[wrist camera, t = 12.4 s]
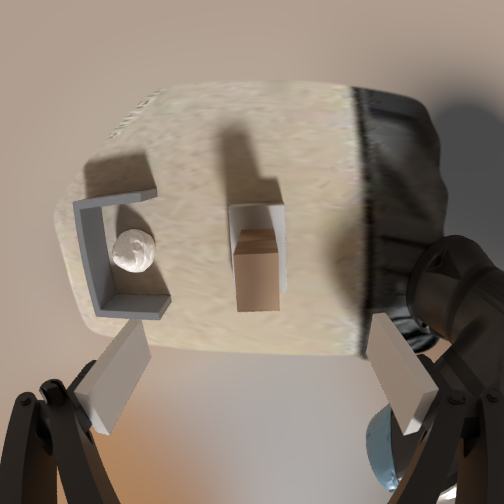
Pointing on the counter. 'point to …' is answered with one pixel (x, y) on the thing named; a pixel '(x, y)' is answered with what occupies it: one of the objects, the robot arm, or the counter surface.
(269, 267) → the white-trimmed wooden block
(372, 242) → the counter surface
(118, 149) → the counter surface
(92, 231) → the box
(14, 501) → the robot arm
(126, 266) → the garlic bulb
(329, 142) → the counter surface
